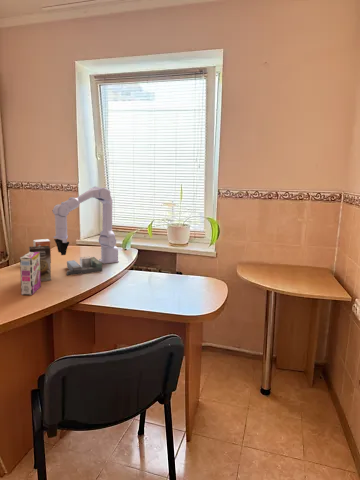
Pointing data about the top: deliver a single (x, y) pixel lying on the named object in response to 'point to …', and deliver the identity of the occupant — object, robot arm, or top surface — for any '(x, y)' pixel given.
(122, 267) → the top surface
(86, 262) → the steel block
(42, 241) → the small box
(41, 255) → the coffee box
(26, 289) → the candy bar box
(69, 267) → the grey rectangular bar
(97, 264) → the vise
